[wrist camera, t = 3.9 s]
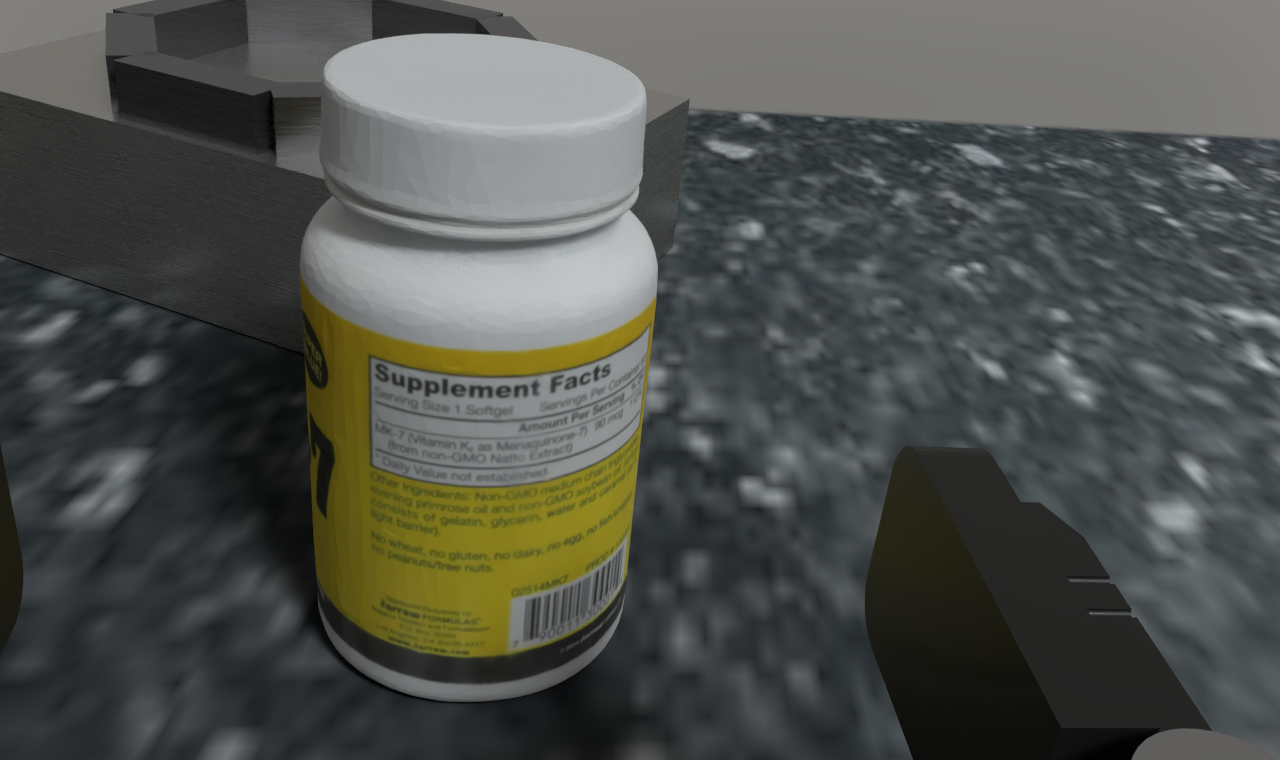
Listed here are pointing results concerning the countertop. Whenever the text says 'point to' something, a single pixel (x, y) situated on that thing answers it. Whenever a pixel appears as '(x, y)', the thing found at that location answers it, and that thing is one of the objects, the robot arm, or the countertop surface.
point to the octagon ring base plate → (216, 149)
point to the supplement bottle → (475, 359)
